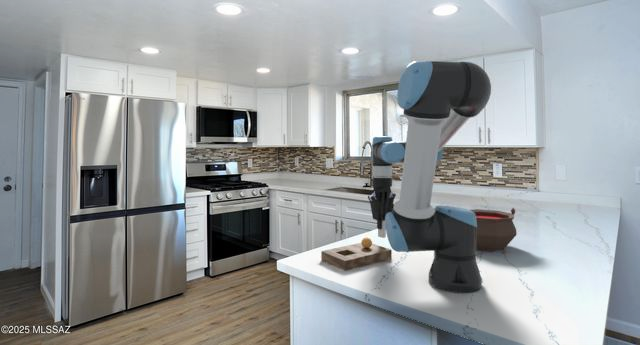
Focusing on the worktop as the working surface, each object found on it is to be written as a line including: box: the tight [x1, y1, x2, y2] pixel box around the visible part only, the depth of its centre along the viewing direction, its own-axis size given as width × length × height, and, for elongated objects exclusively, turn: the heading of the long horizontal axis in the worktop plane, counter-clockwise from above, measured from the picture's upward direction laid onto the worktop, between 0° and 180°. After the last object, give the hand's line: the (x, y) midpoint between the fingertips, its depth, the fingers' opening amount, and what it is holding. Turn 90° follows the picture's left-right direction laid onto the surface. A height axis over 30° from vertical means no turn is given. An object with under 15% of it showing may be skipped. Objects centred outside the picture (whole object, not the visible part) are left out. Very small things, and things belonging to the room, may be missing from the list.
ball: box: [360, 237, 373, 248], centre depth 134 cm, size 4×4×4 cm
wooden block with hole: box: [320, 242, 393, 272], centre depth 132 cm, size 22×14×4 cm, turn 124°
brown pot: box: [469, 207, 517, 252], centre depth 147 cm, size 24×24×16 cm
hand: (381, 236), depth 139 cm, fingers closed
